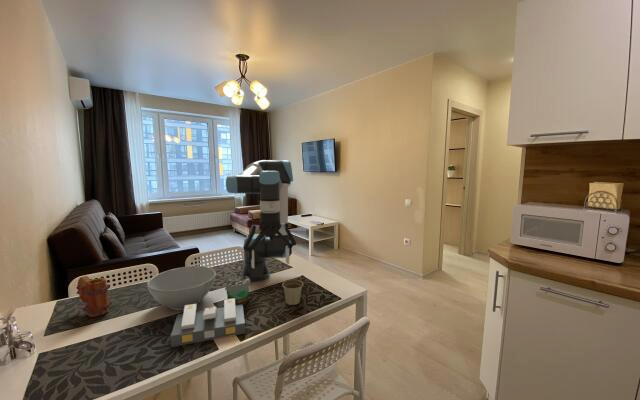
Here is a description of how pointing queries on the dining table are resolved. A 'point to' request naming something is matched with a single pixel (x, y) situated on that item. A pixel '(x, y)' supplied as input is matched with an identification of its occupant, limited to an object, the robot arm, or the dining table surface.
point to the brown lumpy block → (94, 295)
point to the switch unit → (208, 327)
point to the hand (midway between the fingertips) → (270, 265)
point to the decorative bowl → (181, 286)
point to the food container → (239, 291)
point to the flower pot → (292, 291)
